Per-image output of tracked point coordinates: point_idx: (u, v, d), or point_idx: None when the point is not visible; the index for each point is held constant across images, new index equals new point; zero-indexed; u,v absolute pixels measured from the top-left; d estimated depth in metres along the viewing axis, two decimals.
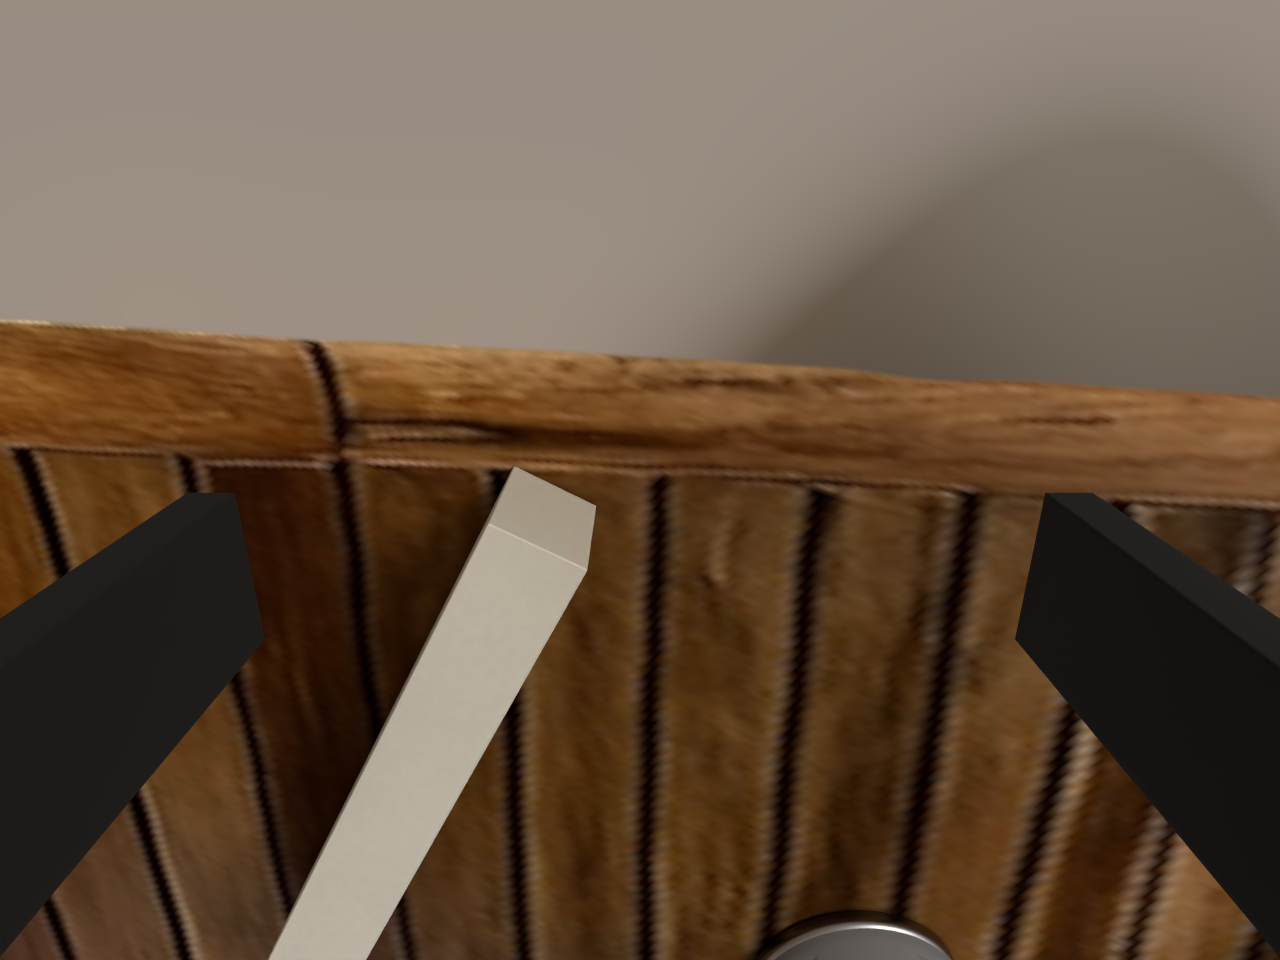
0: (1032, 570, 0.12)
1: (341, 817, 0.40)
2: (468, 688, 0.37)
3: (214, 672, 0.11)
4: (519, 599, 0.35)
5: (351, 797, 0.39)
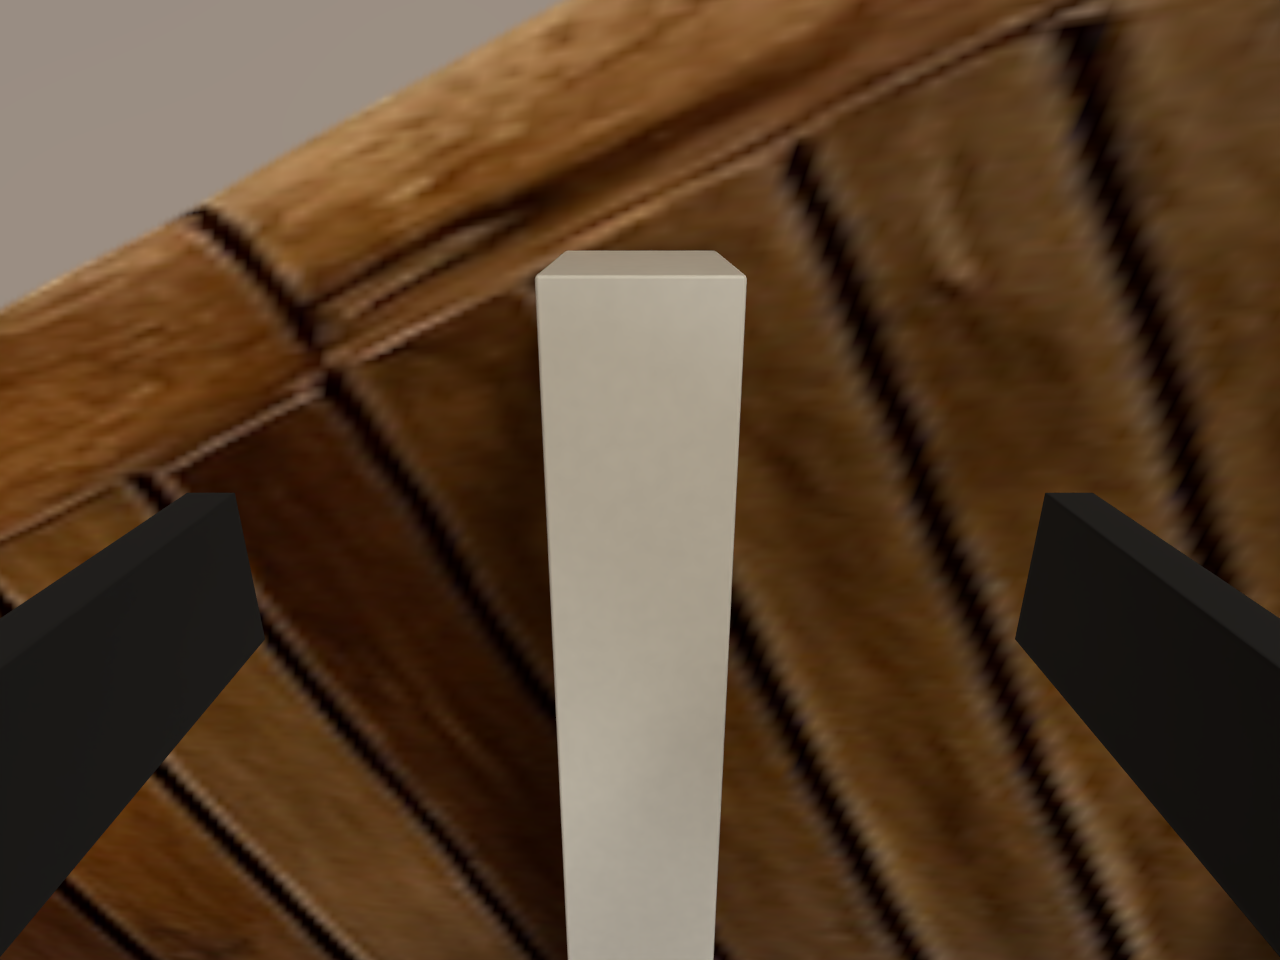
0: (1032, 570, 0.12)
1: (566, 881, 0.25)
2: (650, 594, 0.21)
3: (215, 672, 0.11)
4: (656, 394, 0.19)
5: (564, 846, 0.24)
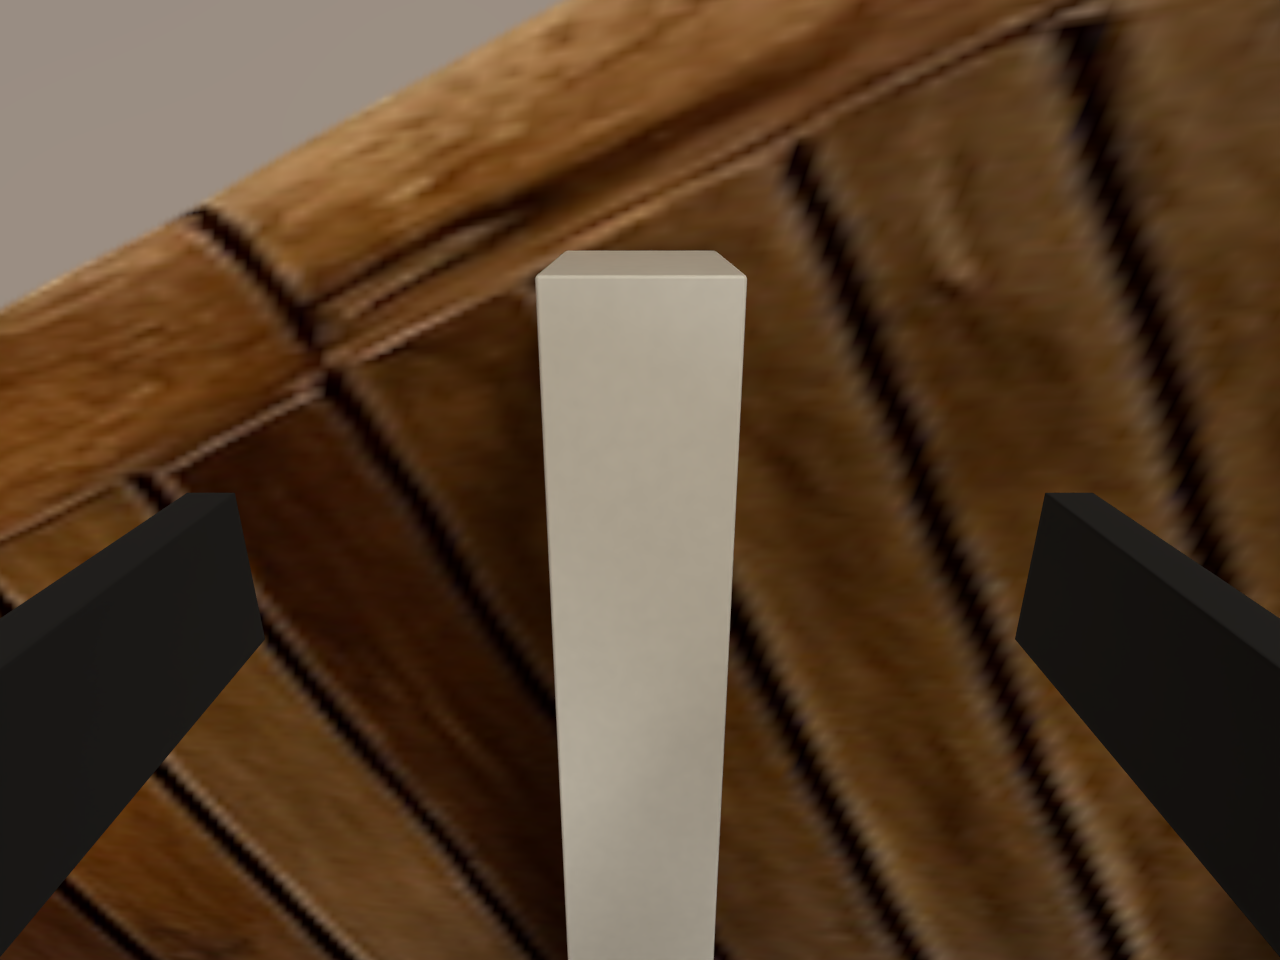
0: (1032, 570, 0.12)
1: (566, 882, 0.25)
2: (650, 594, 0.21)
3: (215, 672, 0.11)
4: (657, 395, 0.19)
5: (564, 846, 0.24)
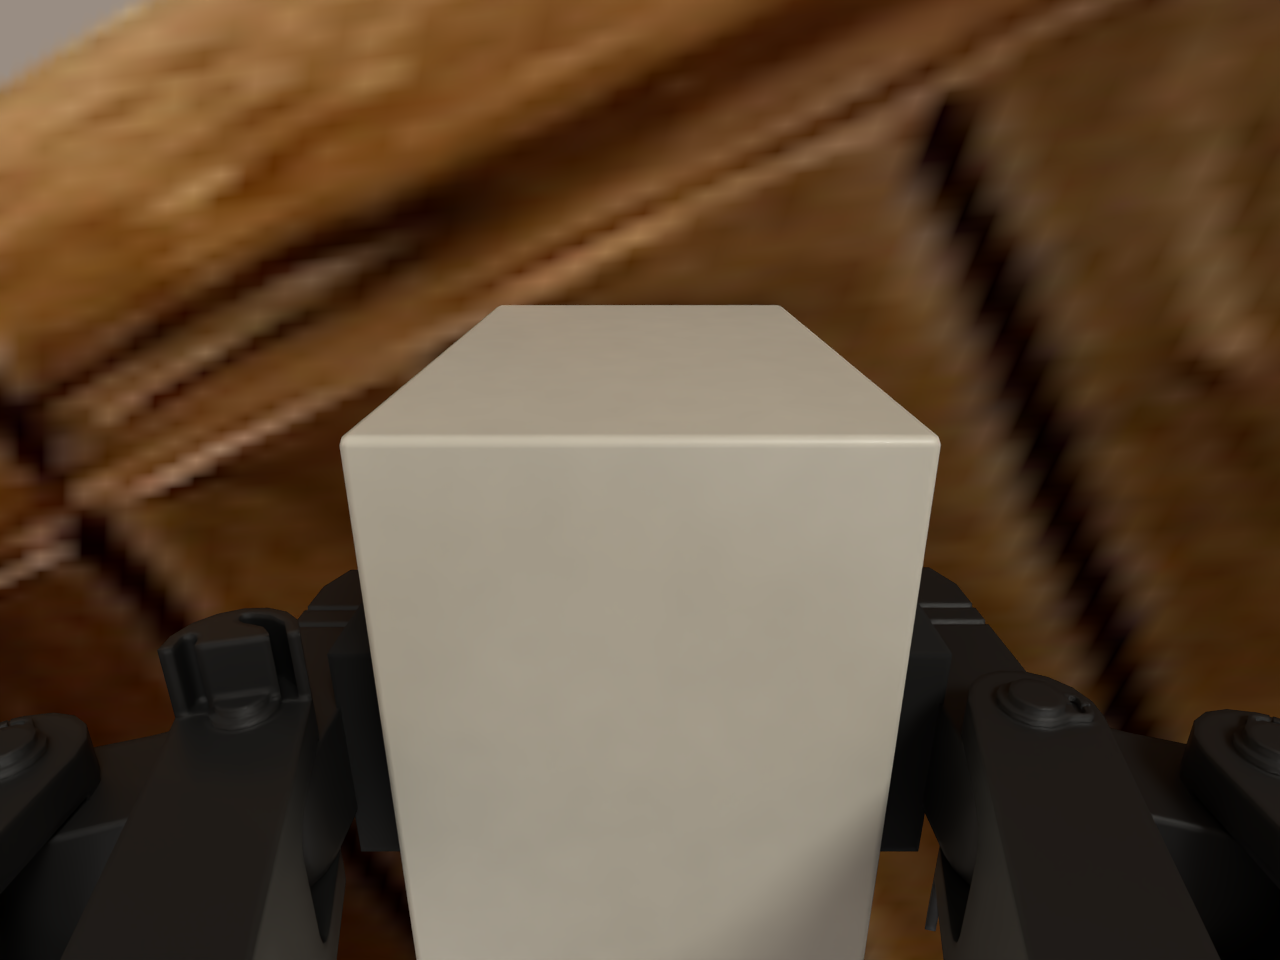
0: None
1: None
2: None
3: None
4: (682, 726, 0.07)
5: None
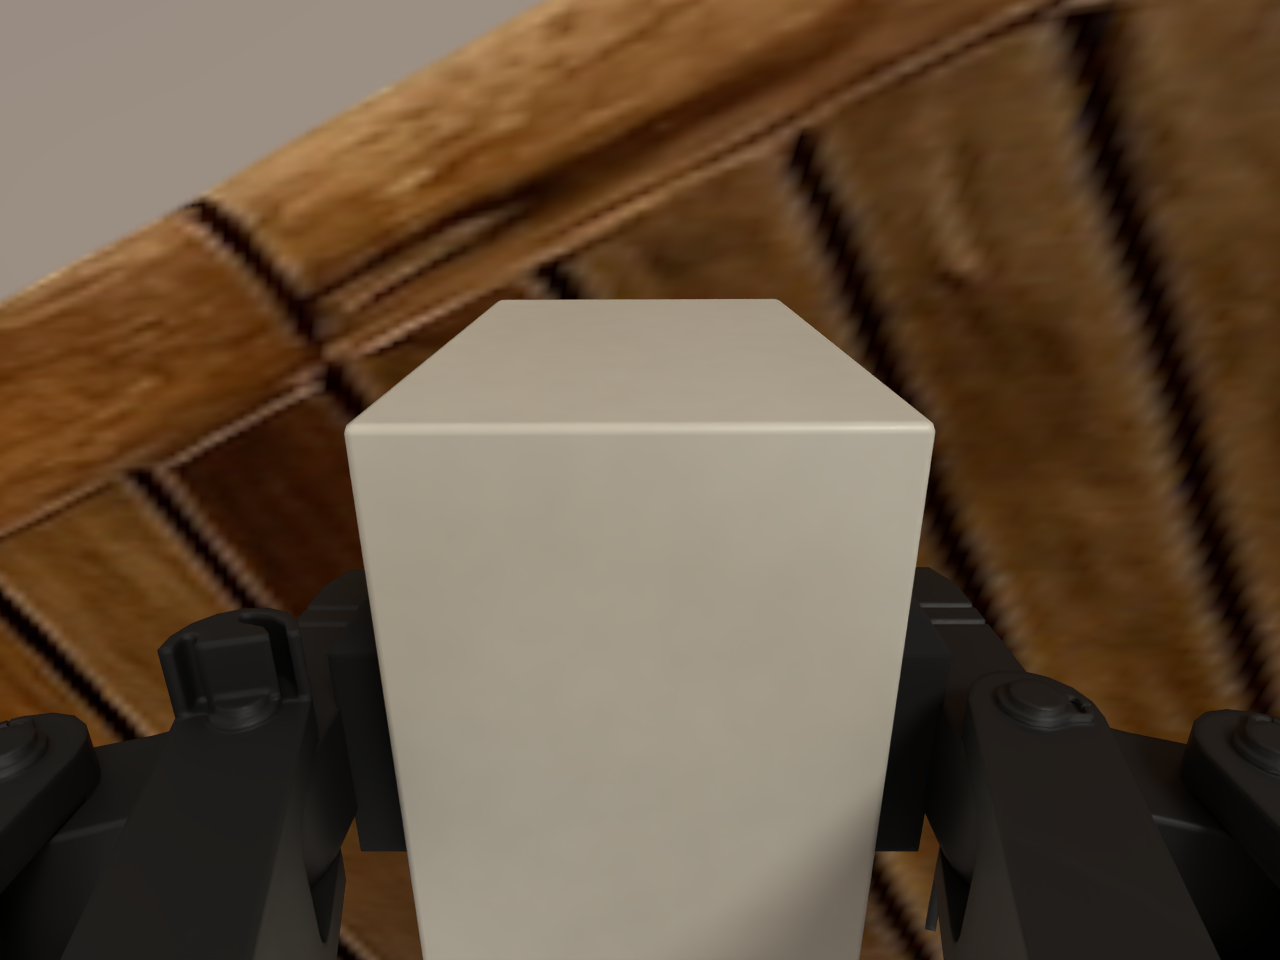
0: None
1: None
2: None
3: None
4: (682, 711, 0.07)
5: None
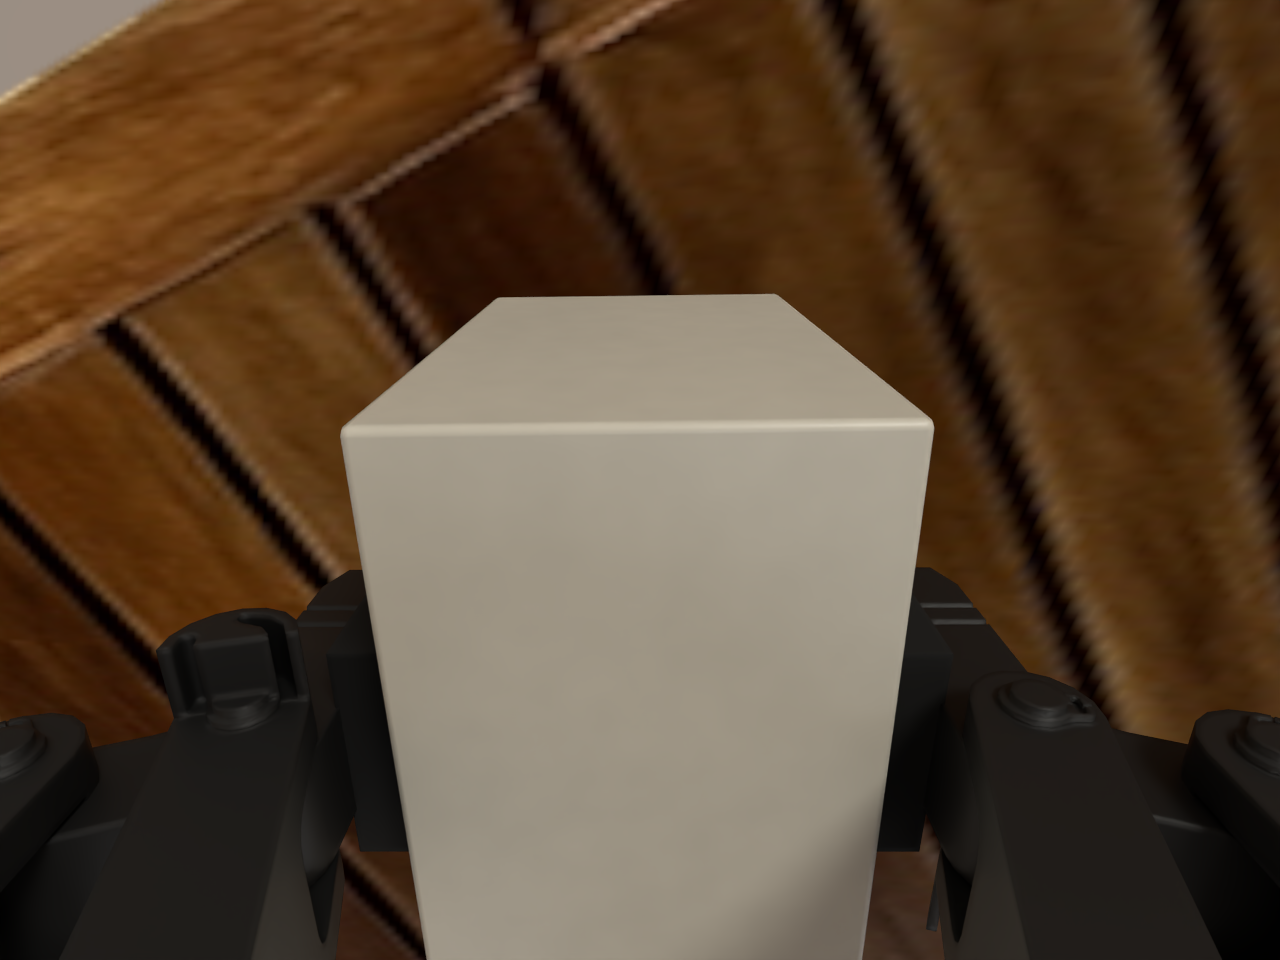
0: None
1: None
2: None
3: None
4: (682, 710, 0.07)
5: None
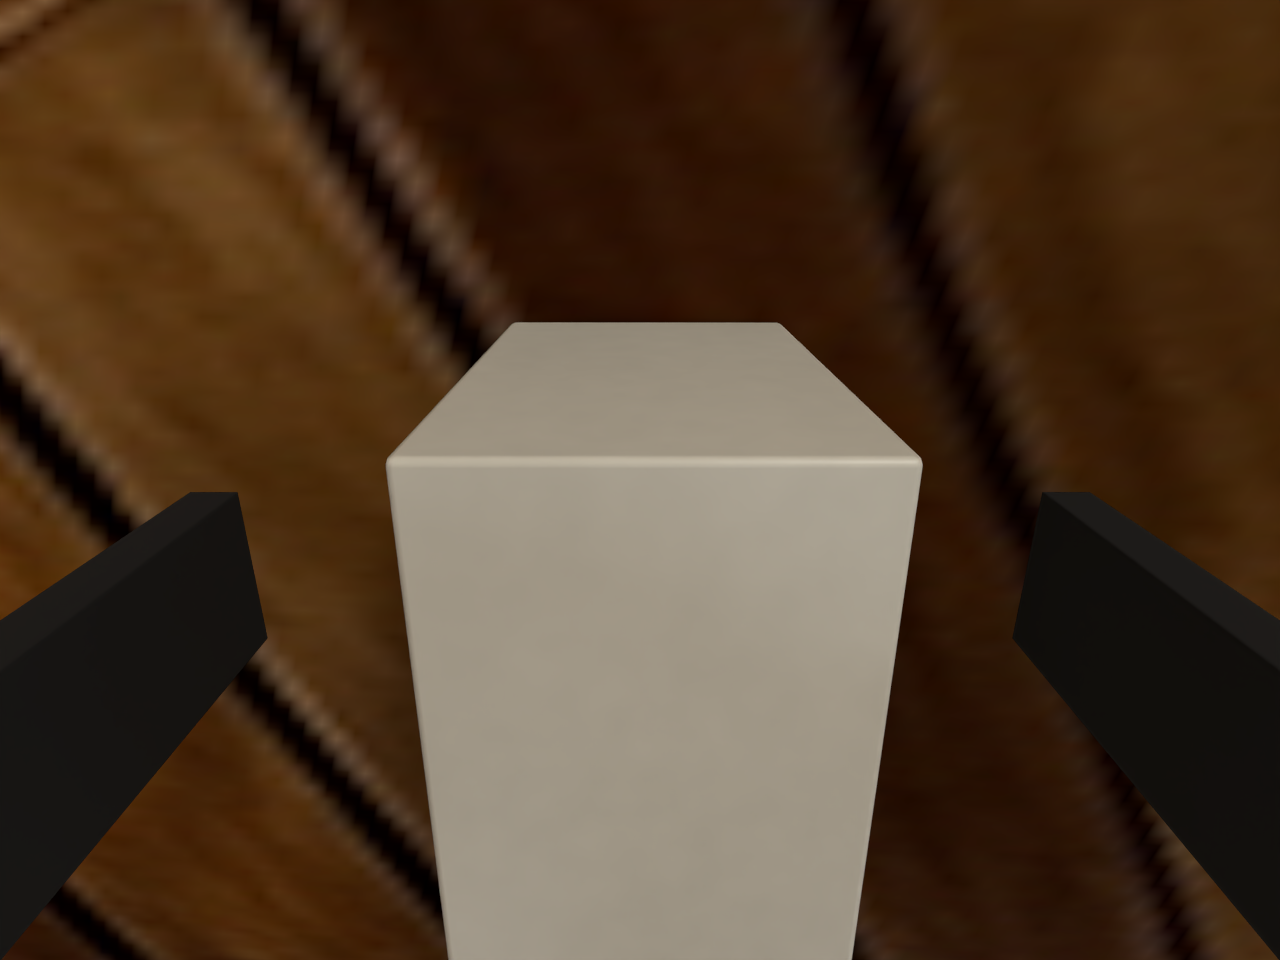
0: (1029, 569, 0.13)
1: None
2: None
3: (218, 671, 0.11)
4: (689, 717, 0.08)
5: None
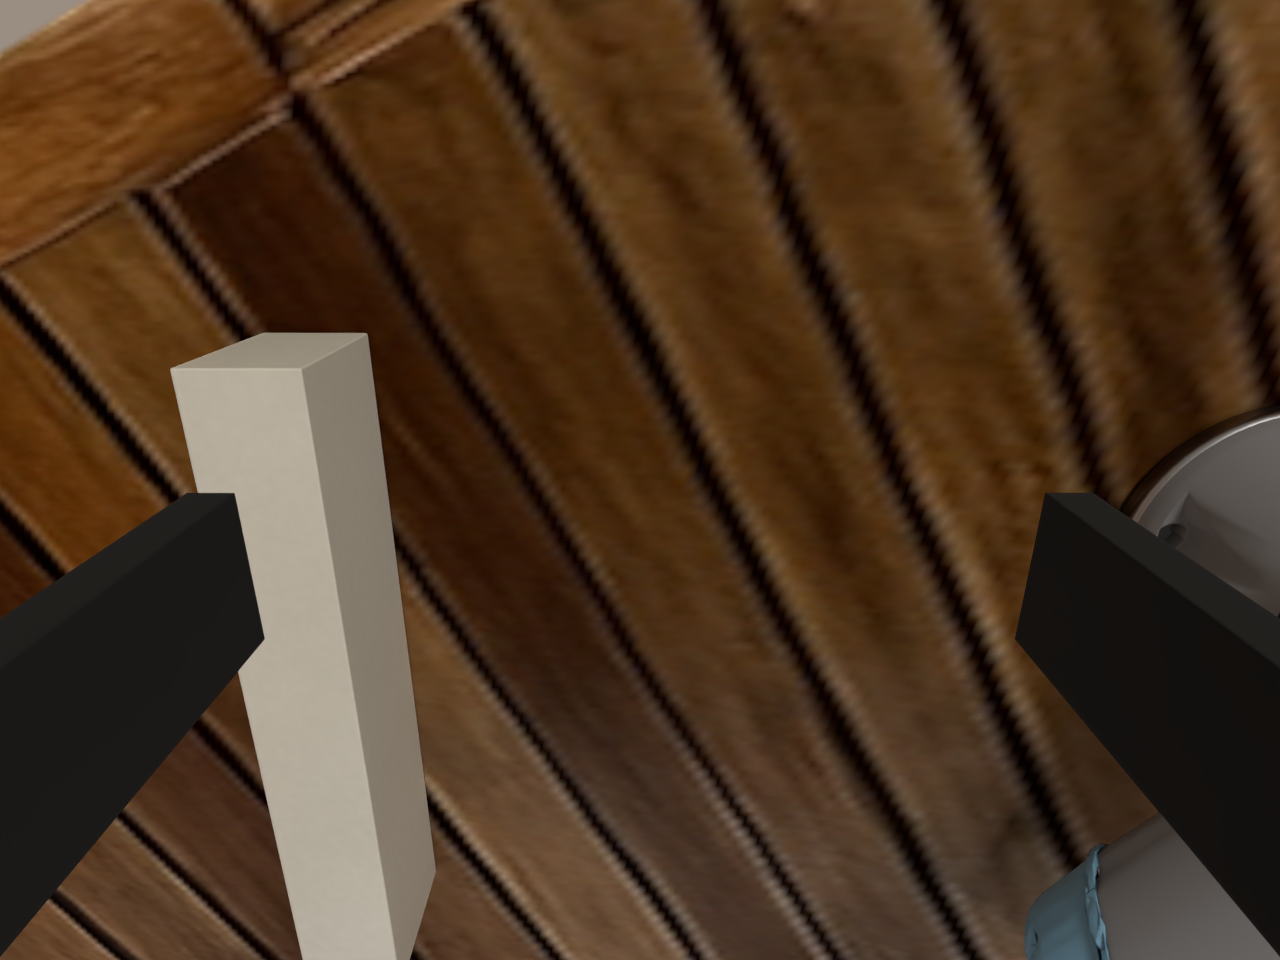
0: (1032, 570, 0.12)
1: (261, 770, 0.36)
2: (280, 569, 0.32)
3: (215, 673, 0.11)
4: (258, 440, 0.30)
5: (255, 744, 0.35)
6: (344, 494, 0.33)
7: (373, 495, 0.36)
